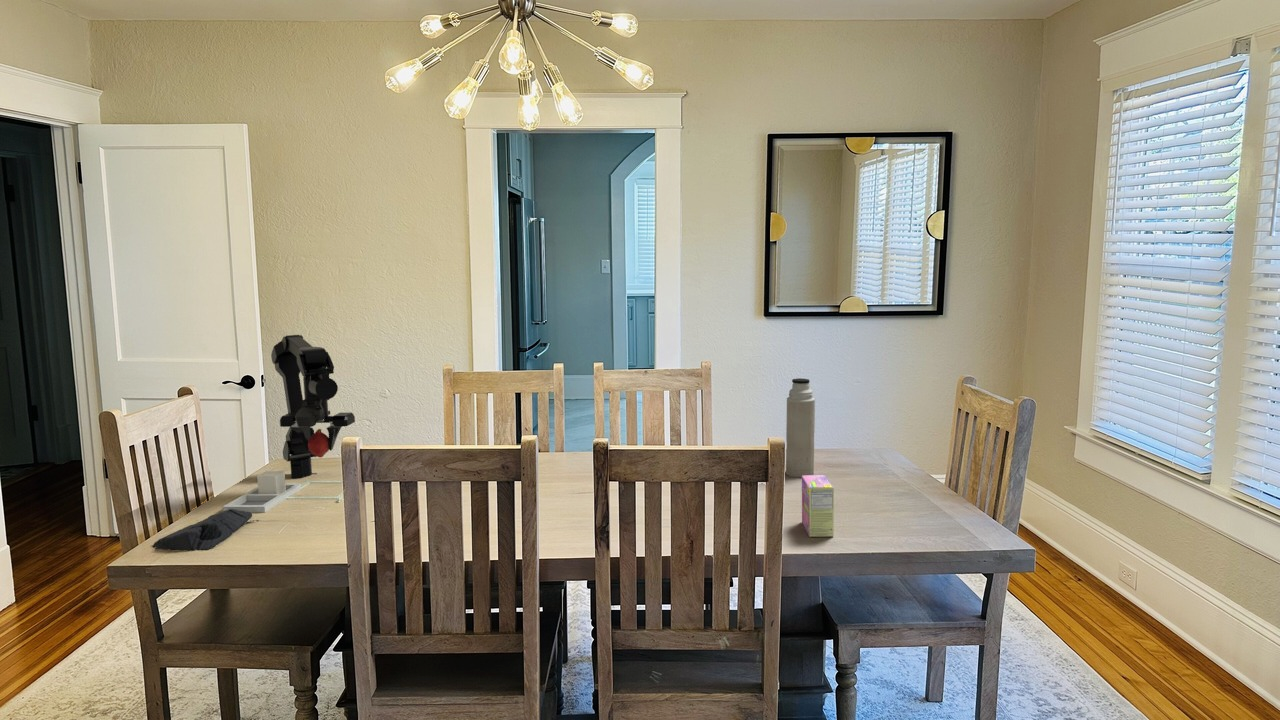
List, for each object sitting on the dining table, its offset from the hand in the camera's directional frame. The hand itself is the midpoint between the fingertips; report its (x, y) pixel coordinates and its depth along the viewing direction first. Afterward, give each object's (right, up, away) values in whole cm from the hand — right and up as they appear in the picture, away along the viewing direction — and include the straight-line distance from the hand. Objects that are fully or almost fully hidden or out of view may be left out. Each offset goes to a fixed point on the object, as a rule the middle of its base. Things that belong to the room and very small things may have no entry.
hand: (319, 450), depth 222 cm
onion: (0, -2, 0) cm, 2 cm away
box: (+130, -15, -32) cm, 135 cm away
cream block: (-12, -12, -2) cm, 17 cm away
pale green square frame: (0, -12, +2) cm, 12 cm away
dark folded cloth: (-15, -18, -29) cm, 37 cm away
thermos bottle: (+135, -9, +14) cm, 136 cm away
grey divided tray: (-12, -14, -7) cm, 19 cm away
